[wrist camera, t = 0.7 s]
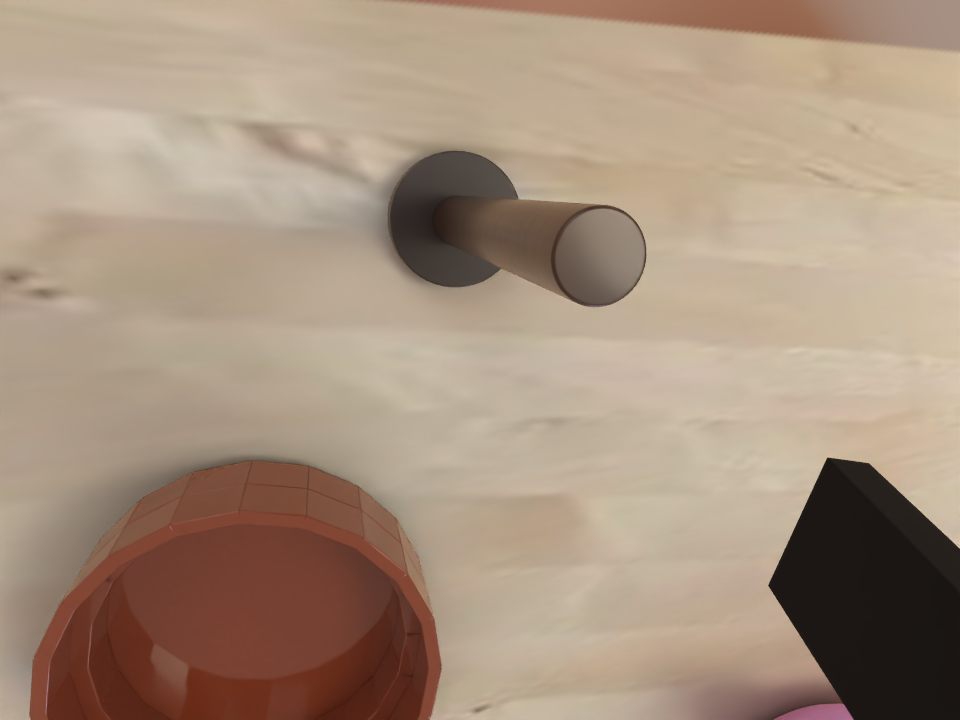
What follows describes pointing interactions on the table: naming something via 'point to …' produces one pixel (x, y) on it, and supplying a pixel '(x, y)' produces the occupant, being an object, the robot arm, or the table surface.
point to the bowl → (244, 608)
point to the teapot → (818, 713)
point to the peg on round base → (509, 233)
